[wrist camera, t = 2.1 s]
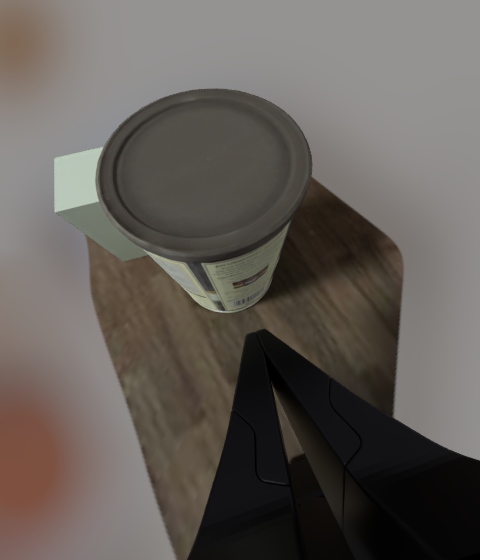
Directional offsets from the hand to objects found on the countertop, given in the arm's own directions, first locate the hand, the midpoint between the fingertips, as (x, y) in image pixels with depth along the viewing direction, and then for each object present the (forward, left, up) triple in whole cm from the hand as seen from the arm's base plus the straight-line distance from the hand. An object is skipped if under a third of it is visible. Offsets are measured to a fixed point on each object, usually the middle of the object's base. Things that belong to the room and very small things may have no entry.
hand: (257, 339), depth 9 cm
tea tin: (+16, +9, -12) cm, 22 cm away
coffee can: (+9, 0, -13) cm, 15 cm away
